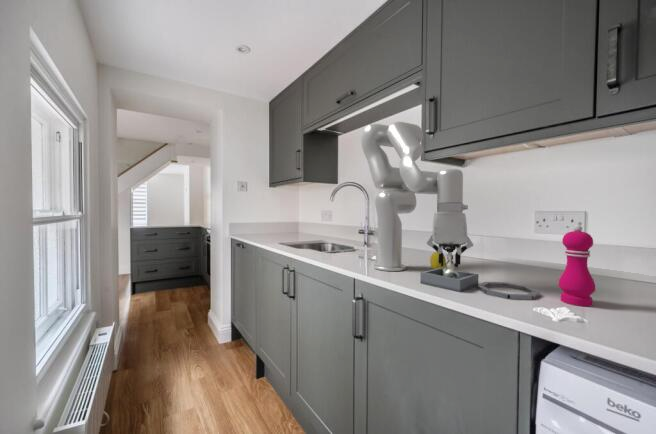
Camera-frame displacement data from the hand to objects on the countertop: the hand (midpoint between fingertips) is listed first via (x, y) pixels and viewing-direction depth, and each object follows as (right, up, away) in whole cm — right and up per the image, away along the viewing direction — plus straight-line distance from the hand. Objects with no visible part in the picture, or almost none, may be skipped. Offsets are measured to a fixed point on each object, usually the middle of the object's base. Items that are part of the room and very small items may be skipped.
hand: (449, 265), depth 93 cm
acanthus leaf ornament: (+13, -8, -28) cm, 32 cm away
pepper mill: (+25, -7, -18) cm, 32 cm away
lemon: (+3, -6, +18) cm, 20 cm away
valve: (0, -5, -1) cm, 5 cm away
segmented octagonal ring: (+13, -6, -8) cm, 17 cm away
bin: (0, -6, 0) cm, 6 cm away
